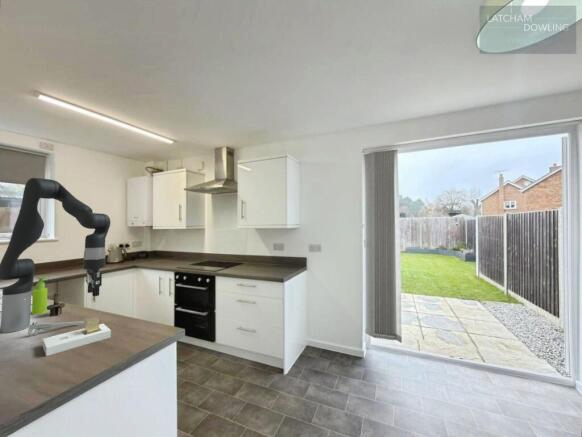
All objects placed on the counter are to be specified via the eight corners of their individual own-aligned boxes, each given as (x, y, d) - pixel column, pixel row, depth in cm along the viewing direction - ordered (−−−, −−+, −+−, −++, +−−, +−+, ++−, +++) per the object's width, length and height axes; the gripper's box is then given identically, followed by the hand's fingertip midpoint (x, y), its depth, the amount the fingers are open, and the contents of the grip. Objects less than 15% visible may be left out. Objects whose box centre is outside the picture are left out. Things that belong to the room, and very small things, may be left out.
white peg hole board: (42, 346, 97) (42, 338, 97) (103, 329, 112) (103, 323, 112) (46, 356, 89) (46, 347, 89) (110, 337, 105) (111, 330, 105)
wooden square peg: (84, 338, 104) (85, 319, 104) (95, 334, 107) (96, 316, 107) (86, 340, 102) (87, 321, 102) (98, 337, 105) (99, 318, 105)
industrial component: (64, 314, 132) (65, 293, 133) (46, 318, 127) (47, 295, 127) (64, 310, 139) (65, 290, 139) (46, 313, 134) (47, 292, 134)
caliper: (28, 338, 105) (28, 323, 105) (27, 337, 105) (28, 322, 106) (87, 323, 121) (87, 310, 121) (86, 322, 122) (87, 310, 122)
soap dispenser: (40, 314, 132) (42, 278, 133) (28, 314, 132) (30, 278, 133) (51, 310, 138) (52, 276, 139) (39, 310, 138) (41, 276, 139)
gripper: (80, 257, 107) (78, 293, 107) (87, 259, 98) (86, 299, 98) (100, 255, 113) (99, 289, 112) (109, 258, 104) (108, 295, 104)
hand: (93, 294), depth 105 cm, fingers open, 8 cm apart
